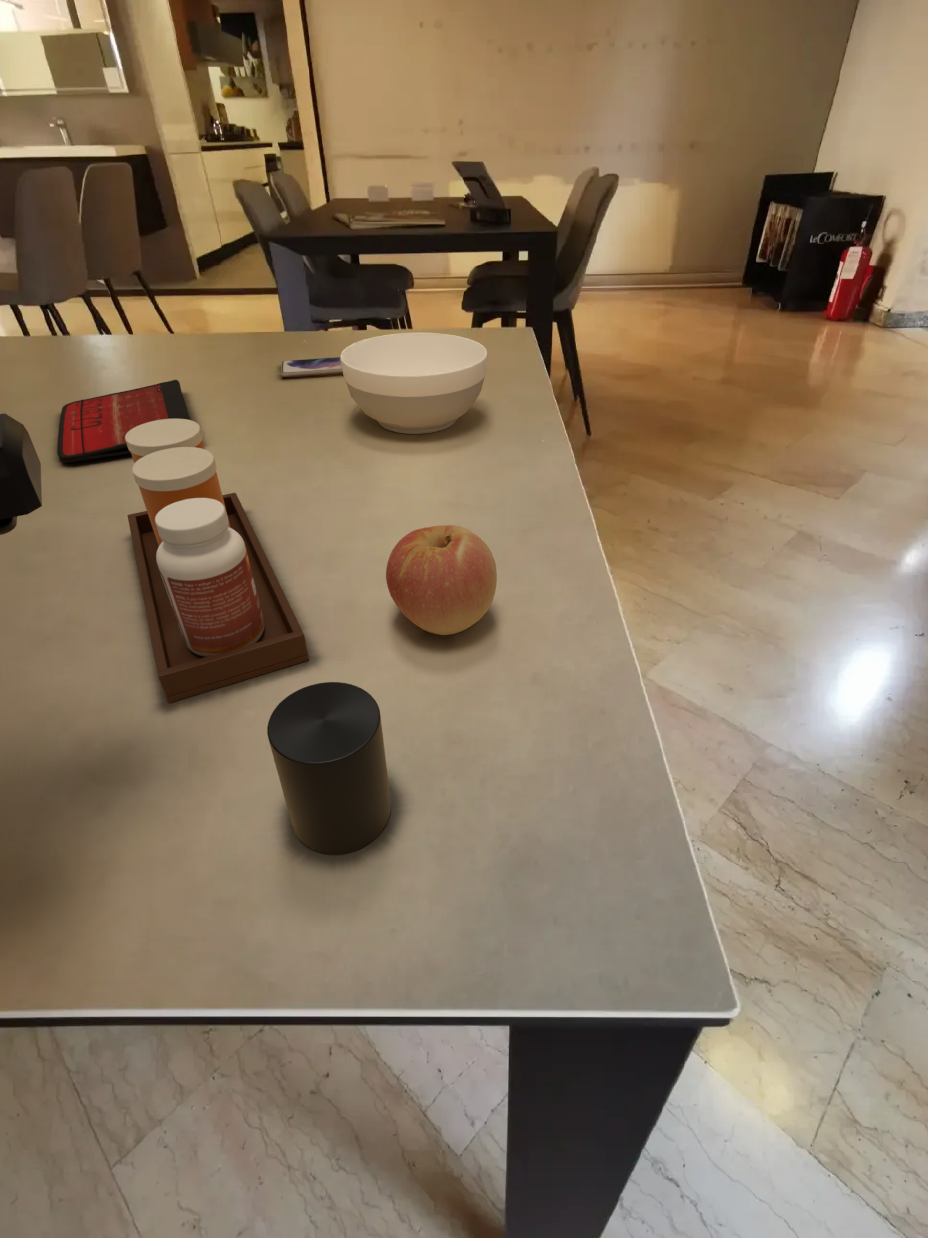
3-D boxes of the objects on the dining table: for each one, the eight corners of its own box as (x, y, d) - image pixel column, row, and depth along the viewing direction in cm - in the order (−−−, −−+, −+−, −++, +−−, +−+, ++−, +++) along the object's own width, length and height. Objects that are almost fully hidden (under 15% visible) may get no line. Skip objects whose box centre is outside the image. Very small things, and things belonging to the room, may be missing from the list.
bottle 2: (156, 591, 58) (114, 475, 51) (194, 554, 63) (161, 443, 56) (220, 601, 57) (186, 483, 50) (254, 562, 62) (228, 450, 55)
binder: (177, 377, 98) (195, 428, 82) (182, 393, 99) (200, 446, 84) (58, 398, 93) (54, 457, 78) (65, 415, 94) (62, 475, 79)
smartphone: (281, 360, 109) (373, 354, 111) (282, 366, 109) (373, 359, 112) (280, 373, 103) (377, 366, 105) (281, 379, 104) (377, 372, 106)
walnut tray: (309, 660, 52) (304, 634, 50) (168, 703, 48) (158, 676, 46) (240, 514, 70) (235, 492, 68) (135, 537, 66) (127, 514, 65)
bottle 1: (147, 553, 63) (109, 442, 56) (184, 521, 68) (152, 415, 61) (206, 561, 62) (174, 449, 55) (239, 528, 67) (213, 421, 60)
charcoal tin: (274, 842, 39) (246, 751, 34) (316, 764, 44) (296, 673, 39) (371, 864, 38) (356, 773, 33) (403, 781, 42) (395, 690, 37)
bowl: (336, 403, 96) (328, 339, 90) (461, 388, 100) (461, 327, 95) (362, 455, 81) (355, 383, 76) (507, 435, 86) (509, 366, 81)
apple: (429, 667, 51) (424, 581, 46) (371, 611, 57) (361, 528, 52) (517, 625, 55) (521, 541, 50) (454, 576, 61) (453, 497, 56)
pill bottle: (282, 632, 53) (254, 509, 47) (216, 672, 50) (175, 545, 43) (235, 603, 57) (202, 484, 50) (169, 639, 53) (125, 516, 46)
